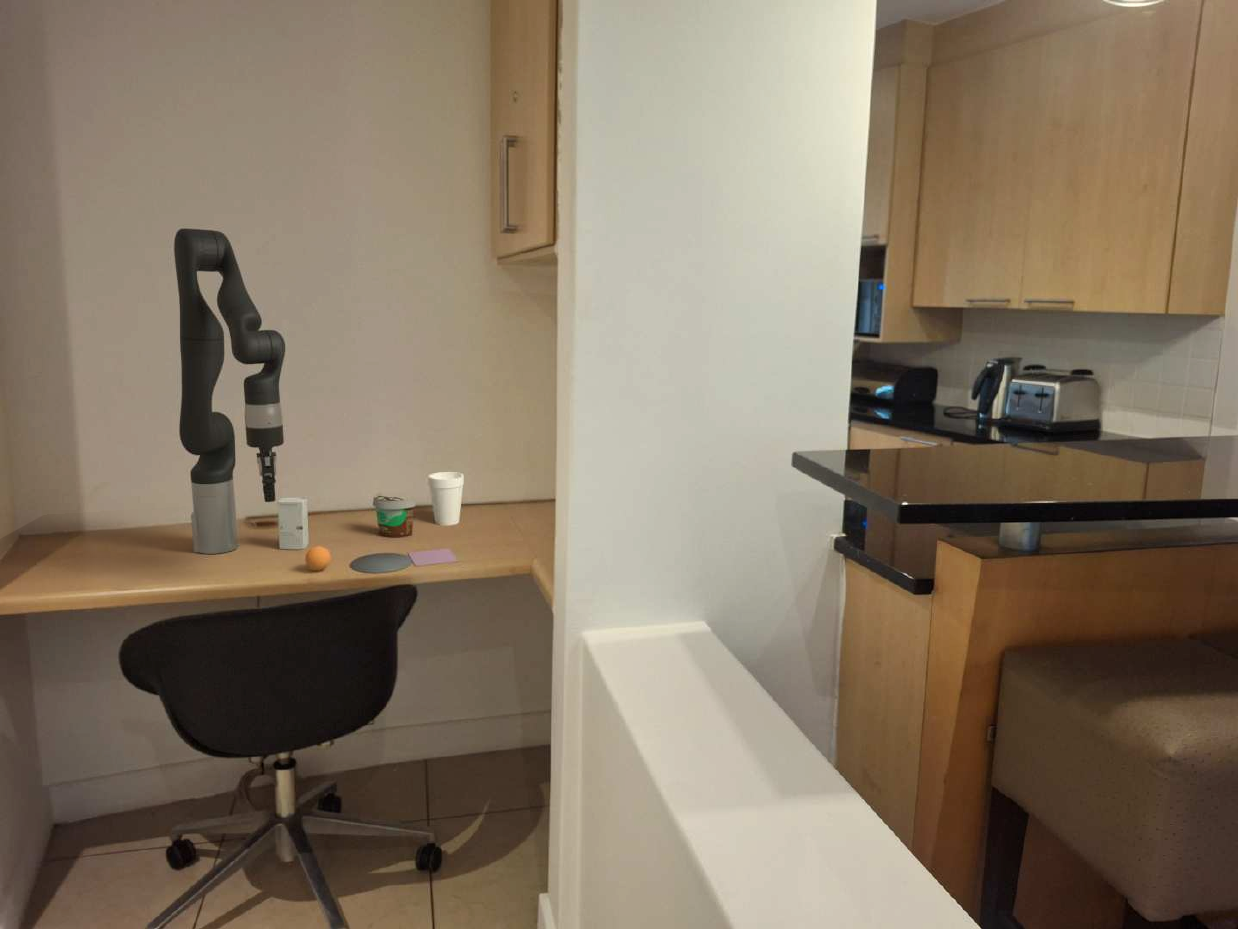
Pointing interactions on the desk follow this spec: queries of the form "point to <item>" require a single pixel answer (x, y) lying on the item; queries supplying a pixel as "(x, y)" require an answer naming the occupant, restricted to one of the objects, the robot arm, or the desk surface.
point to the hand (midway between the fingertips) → (269, 497)
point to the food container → (394, 516)
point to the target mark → (381, 563)
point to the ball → (318, 558)
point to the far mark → (432, 557)
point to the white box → (293, 523)
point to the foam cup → (446, 496)
